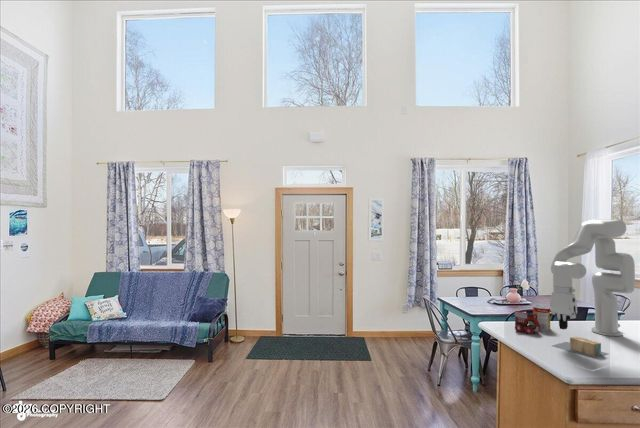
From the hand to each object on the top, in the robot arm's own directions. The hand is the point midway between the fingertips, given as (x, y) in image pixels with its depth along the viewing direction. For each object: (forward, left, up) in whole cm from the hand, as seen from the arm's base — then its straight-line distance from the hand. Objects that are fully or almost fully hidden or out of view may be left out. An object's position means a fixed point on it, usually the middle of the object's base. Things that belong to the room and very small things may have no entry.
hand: (563, 328), depth 170 cm
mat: (0, +7, -8) cm, 11 cm away
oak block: (0, +4, -5) cm, 7 cm away
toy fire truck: (-5, -21, -8) cm, 23 cm away
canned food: (-18, -21, -8) cm, 29 cm away
